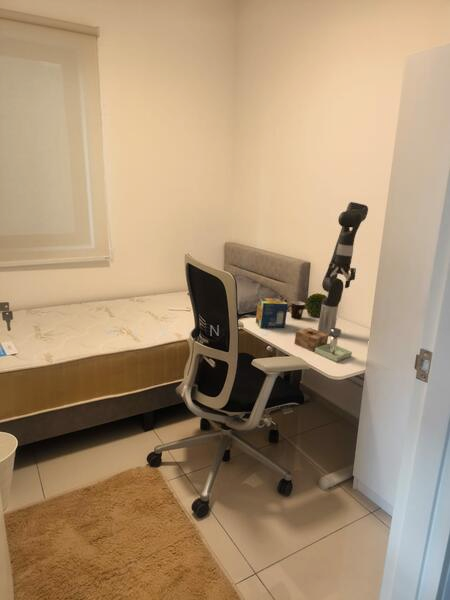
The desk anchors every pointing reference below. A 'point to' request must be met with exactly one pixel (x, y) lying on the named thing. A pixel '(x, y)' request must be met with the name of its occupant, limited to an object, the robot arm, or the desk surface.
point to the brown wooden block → (310, 339)
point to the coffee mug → (296, 309)
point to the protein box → (271, 313)
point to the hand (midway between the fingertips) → (339, 285)
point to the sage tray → (339, 353)
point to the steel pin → (334, 339)
